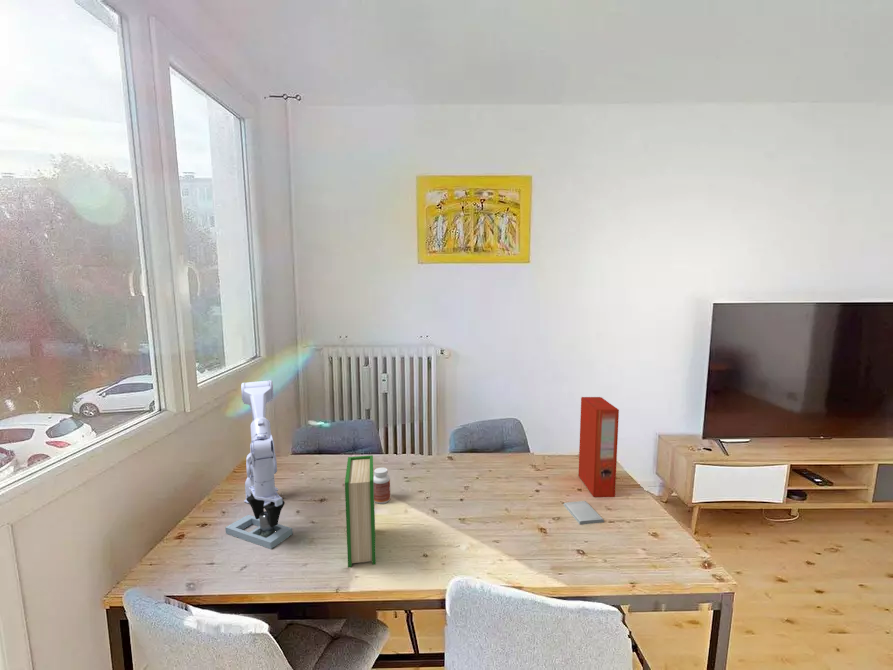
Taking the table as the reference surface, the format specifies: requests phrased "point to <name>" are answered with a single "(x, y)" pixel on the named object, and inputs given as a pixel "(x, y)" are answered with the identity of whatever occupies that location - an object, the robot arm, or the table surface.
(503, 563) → the table surface
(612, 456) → the file binder
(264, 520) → the peg
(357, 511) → the hardback book
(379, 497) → the pill bottle
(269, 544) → the grey double-hole frame
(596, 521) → the hard drive
